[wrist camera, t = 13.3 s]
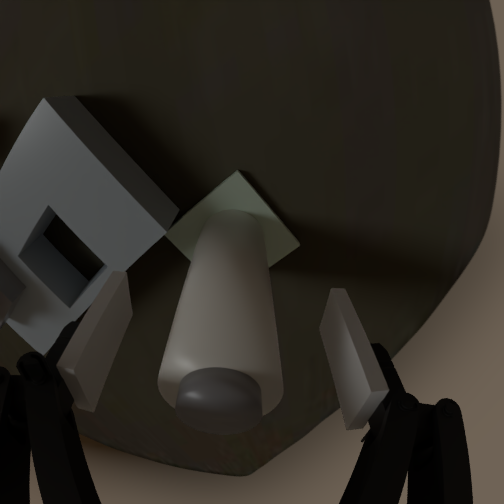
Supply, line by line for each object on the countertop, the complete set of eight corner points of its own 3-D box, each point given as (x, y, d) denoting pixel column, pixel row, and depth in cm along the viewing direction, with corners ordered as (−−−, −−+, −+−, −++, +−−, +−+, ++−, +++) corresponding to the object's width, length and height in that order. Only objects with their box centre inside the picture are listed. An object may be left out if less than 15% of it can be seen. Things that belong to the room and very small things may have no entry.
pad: (238, 169, 20) (237, 171, 19) (299, 241, 23) (300, 245, 22) (165, 231, 22) (163, 234, 21) (228, 292, 24) (227, 296, 24)
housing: (74, 95, 17) (21, 99, 11) (179, 209, 21) (157, 249, 16) (-16, 253, 22) (-51, 285, 17) (58, 330, 27) (33, 372, 21)
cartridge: (201, 206, 21) (142, 366, 8) (268, 212, 21) (298, 378, 8) (199, 265, 23) (161, 436, 10) (260, 270, 23) (274, 444, 10)
